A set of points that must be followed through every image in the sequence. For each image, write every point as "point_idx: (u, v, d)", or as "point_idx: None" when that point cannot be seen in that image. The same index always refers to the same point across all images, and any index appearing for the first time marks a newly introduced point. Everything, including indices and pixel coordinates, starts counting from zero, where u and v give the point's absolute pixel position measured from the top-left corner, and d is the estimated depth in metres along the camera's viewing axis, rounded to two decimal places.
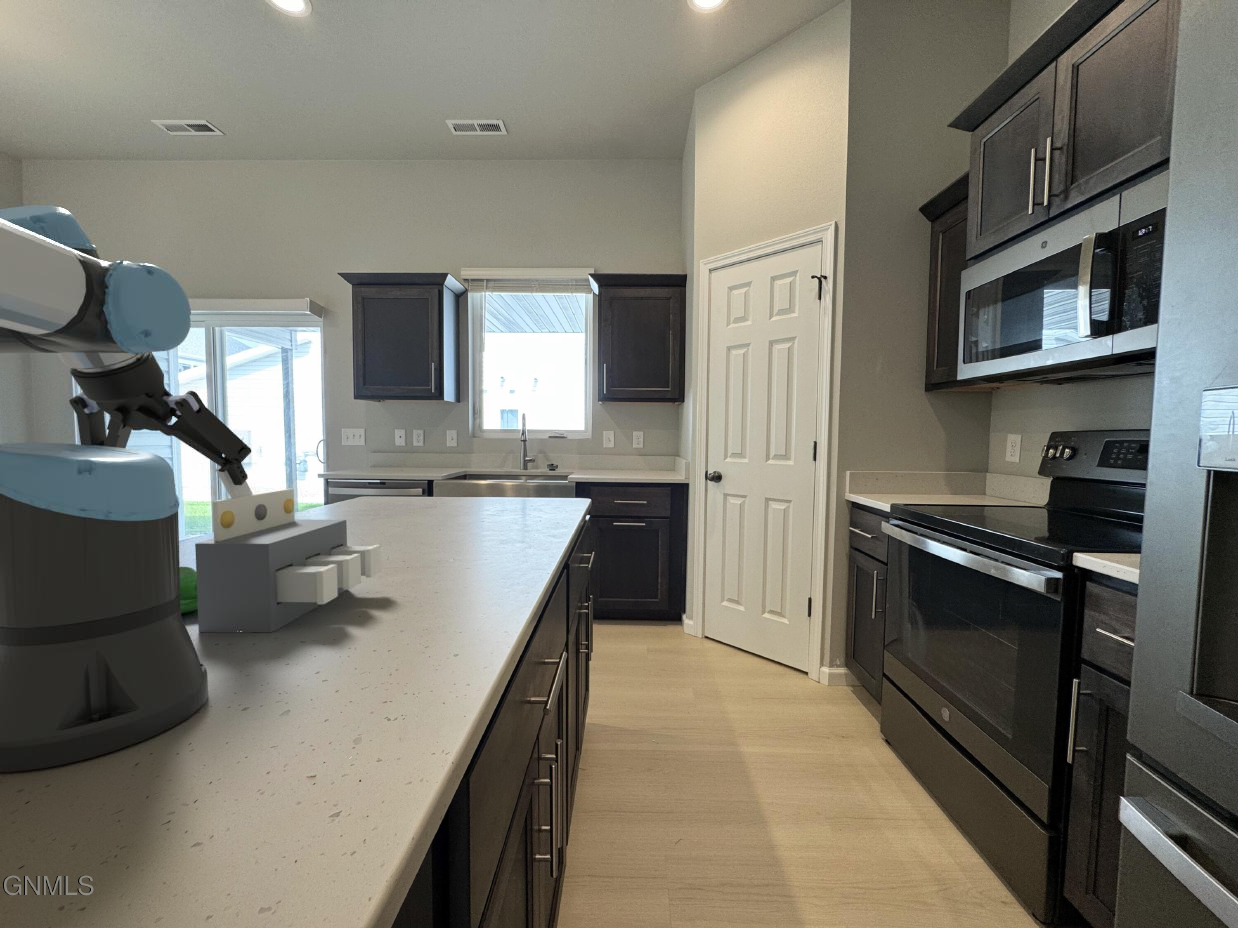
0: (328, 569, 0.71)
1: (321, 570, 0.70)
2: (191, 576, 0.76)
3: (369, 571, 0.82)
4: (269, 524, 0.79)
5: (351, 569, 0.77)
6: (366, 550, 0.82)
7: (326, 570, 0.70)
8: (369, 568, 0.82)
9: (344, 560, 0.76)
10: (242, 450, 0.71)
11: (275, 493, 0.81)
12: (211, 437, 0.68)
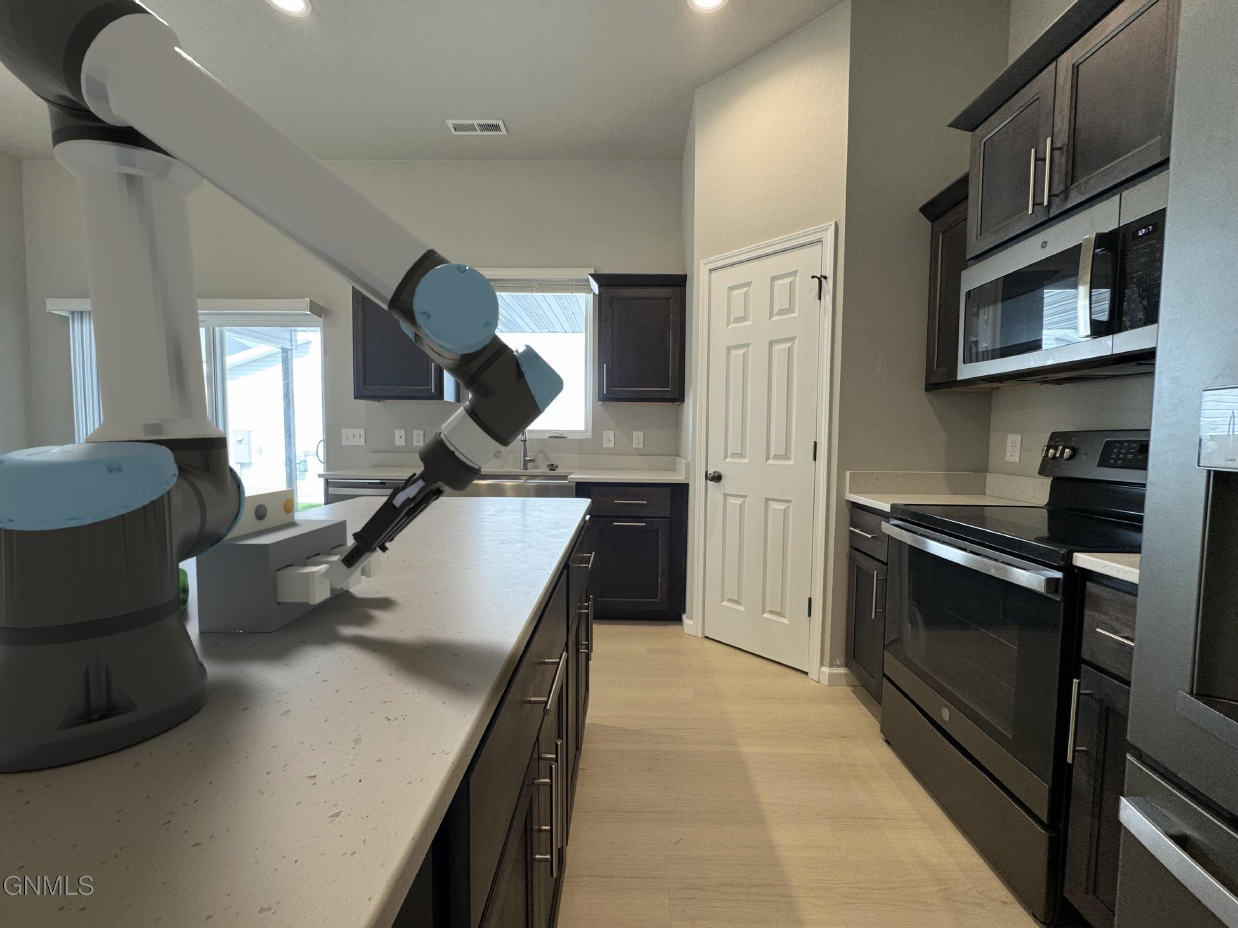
0: (320, 569, 0.71)
1: (313, 570, 0.70)
2: None
3: (369, 571, 0.82)
4: (269, 524, 0.79)
5: None
6: None
7: (318, 570, 0.70)
8: (369, 568, 0.82)
9: None
10: (365, 543, 0.67)
11: (275, 493, 0.81)
12: None
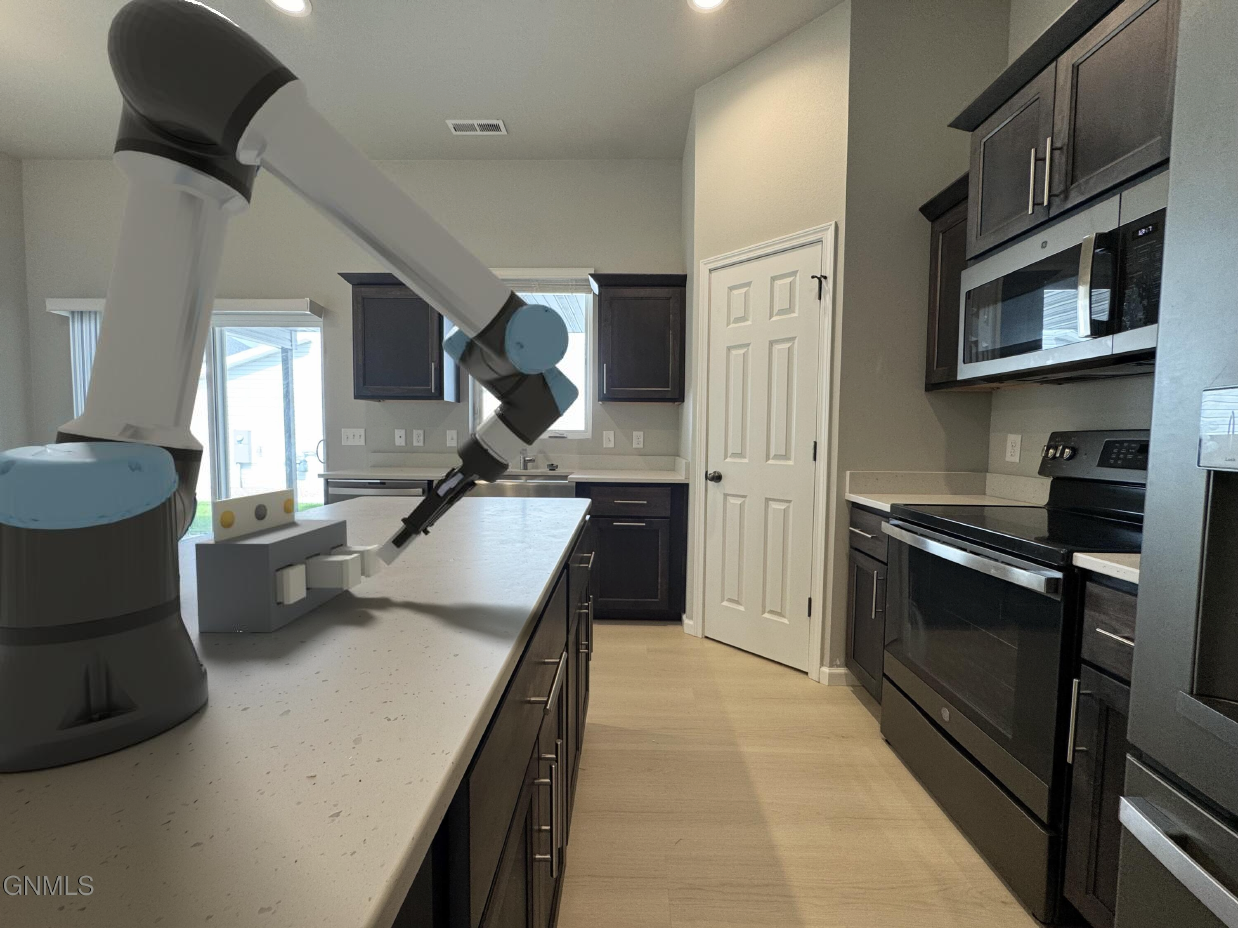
0: (295, 569, 0.71)
1: (288, 570, 0.70)
2: None
3: (368, 571, 0.82)
4: (269, 524, 0.79)
5: (351, 569, 0.77)
6: (365, 550, 0.82)
7: (293, 570, 0.70)
8: (368, 568, 0.82)
9: (344, 560, 0.76)
10: (413, 526, 0.80)
11: (275, 493, 0.81)
12: (421, 503, 0.80)
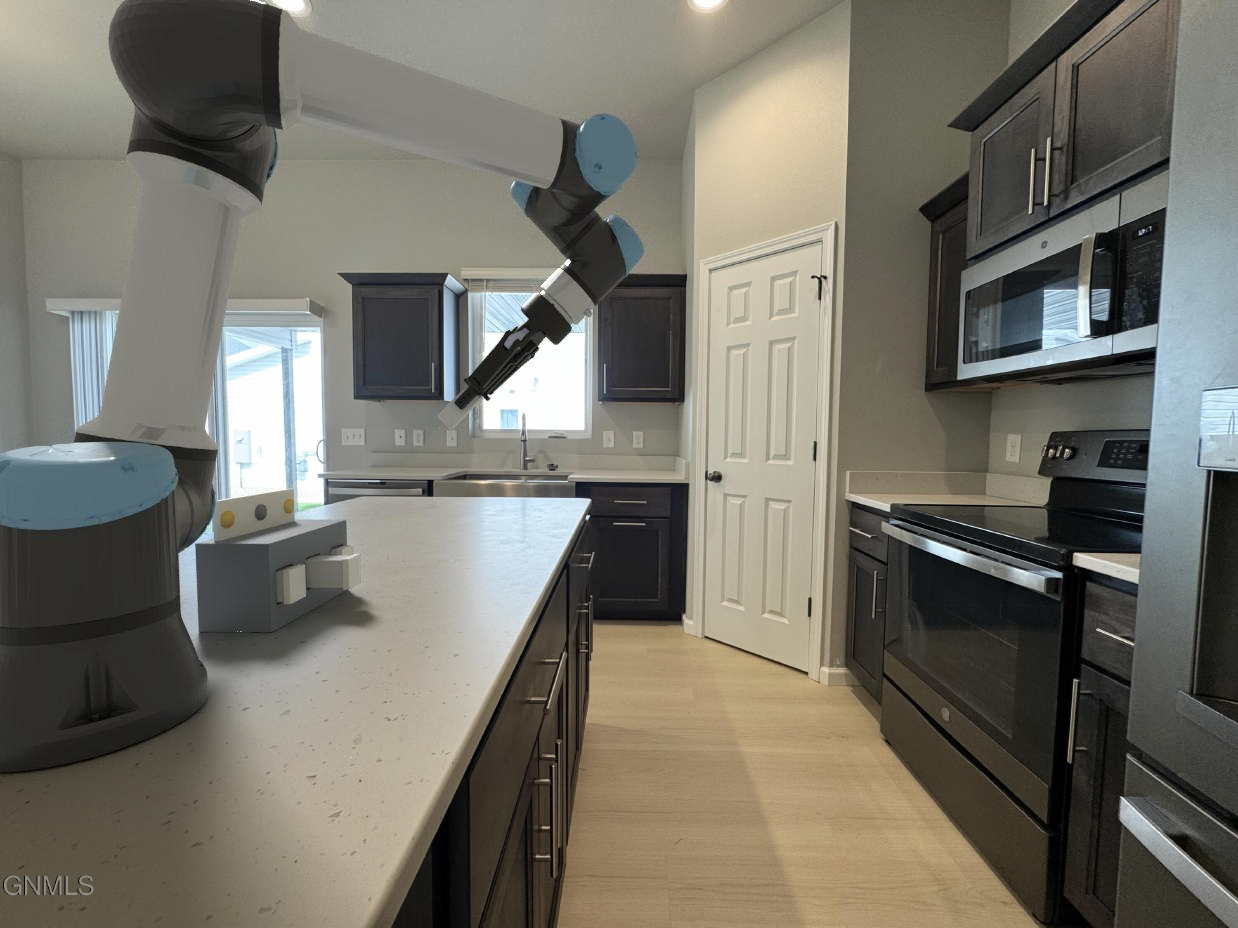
0: (295, 569, 0.71)
1: (288, 570, 0.70)
2: None
3: None
4: (269, 524, 0.79)
5: (351, 569, 0.77)
6: (338, 550, 0.82)
7: (293, 570, 0.70)
8: None
9: (344, 560, 0.76)
10: (477, 383, 0.79)
11: (275, 493, 0.81)
12: None
